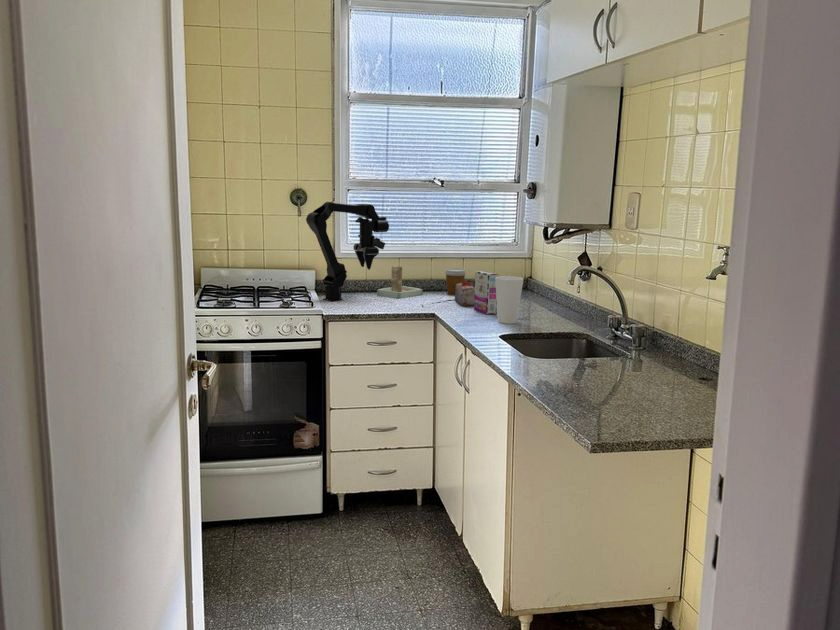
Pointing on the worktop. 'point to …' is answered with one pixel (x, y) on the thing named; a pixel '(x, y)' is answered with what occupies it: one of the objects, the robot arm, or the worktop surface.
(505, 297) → the cup
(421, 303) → the worktop surface
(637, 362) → the worktop surface
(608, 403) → the worktop surface
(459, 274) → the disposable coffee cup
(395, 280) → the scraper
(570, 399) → the worktop surface
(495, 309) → the candy bar box
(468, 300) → the food item
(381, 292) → the tray
